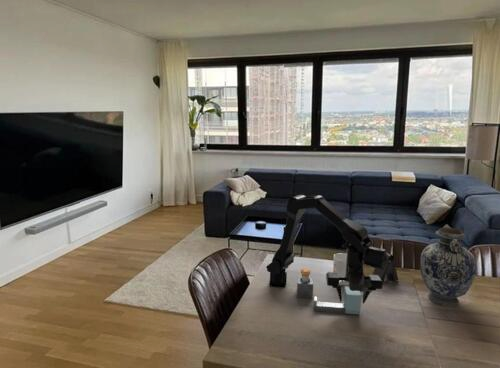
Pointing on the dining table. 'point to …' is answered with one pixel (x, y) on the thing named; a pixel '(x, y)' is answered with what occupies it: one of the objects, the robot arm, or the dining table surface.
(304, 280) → the orange and white mushroom
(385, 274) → the black tent sign
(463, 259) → the decorative vase
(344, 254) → the mug
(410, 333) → the dining table surface
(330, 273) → the robot arm
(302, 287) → the grey hollow box
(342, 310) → the rail
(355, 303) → the grey block
